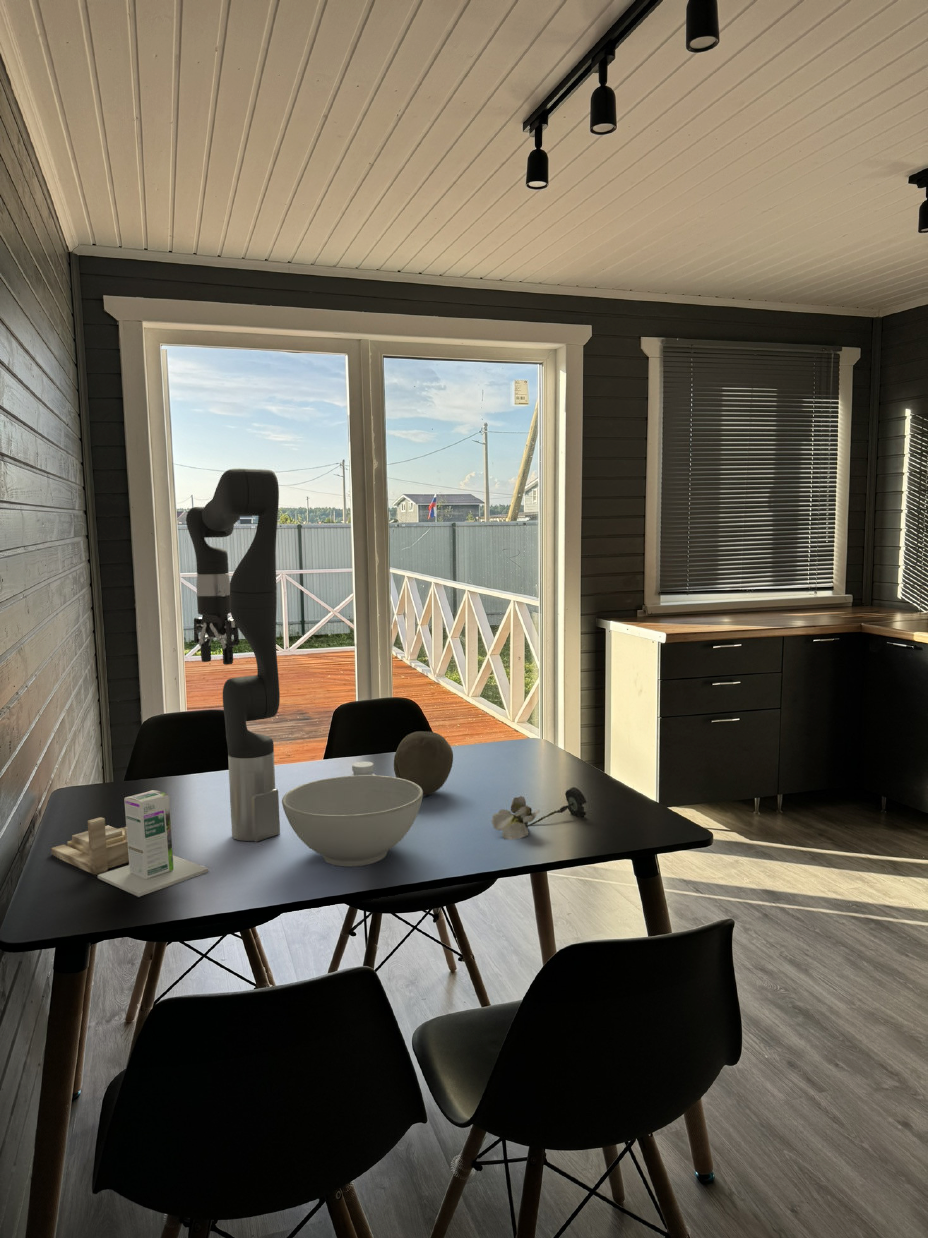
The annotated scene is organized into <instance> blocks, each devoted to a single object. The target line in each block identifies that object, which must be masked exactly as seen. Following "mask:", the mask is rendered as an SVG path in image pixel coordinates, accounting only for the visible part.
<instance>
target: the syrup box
mask: <svg viewBox="0 0 928 1238" xmlns="http://www.w3.org/2000/svg"><path fill="white" fill-rule="evenodd" d="M124 811H125V812H124V813H125V824H126V825H125V827H126V828H127V842H128V855H129V862H128V865H129V869H130V873H131V874H133V875H135V876H138V877H140V878H143V879H145V880H147V879H149V878H151V877H154V876H157V875H160V874H163V873H166V872H169V871H172V870H173V869H174V867H173V855H174V854H173V842H172V841H173V839H172V825H171V823H172V822H171V813H170V797H169V794H168V793H165V792H163V791H161V790H153V789H151V790H149V791H146V792H142V793H138V794H134V795H131V796H130V795H129V796H126V797H124Z"/></svg>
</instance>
